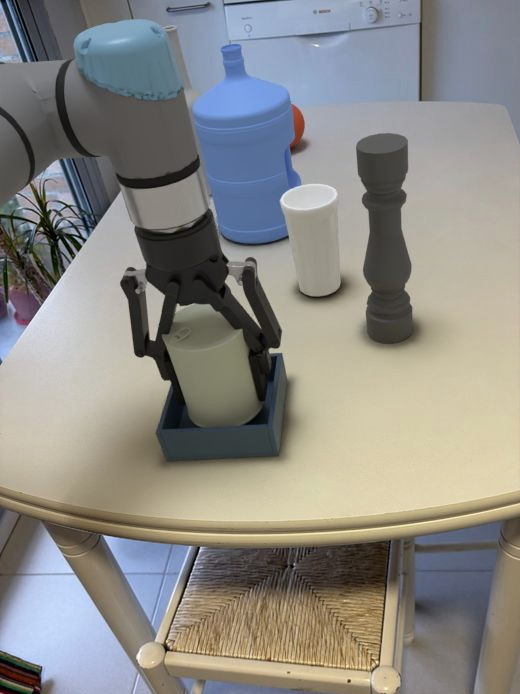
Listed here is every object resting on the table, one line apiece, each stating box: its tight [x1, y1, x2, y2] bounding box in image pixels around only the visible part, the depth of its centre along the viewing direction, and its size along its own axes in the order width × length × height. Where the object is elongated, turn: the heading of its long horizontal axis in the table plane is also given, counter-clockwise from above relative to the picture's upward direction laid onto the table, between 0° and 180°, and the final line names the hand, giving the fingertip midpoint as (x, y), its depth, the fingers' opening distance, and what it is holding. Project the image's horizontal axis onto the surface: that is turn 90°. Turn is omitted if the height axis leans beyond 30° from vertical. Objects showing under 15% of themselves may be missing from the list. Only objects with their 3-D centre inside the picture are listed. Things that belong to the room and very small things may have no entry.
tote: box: [154, 352, 288, 462], centre depth 77 cm, size 13×13×4 cm
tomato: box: [289, 100, 306, 149], centre depth 135 cm, size 10×10×10 cm
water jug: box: [192, 43, 303, 245], centre depth 105 cm, size 16×16×28 cm
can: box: [162, 304, 264, 428], centre depth 73 cm, size 9×9×12 cm
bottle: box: [162, 24, 212, 196], centre depth 118 cm, size 7×7×28 cm
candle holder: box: [355, 132, 414, 344], centre depth 79 cm, size 6×6×25 cm
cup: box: [280, 183, 342, 297], centre depth 93 cm, size 8×8×14 cm
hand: (223, 395), depth 76 cm, fingers closed on can, 9 cm apart
